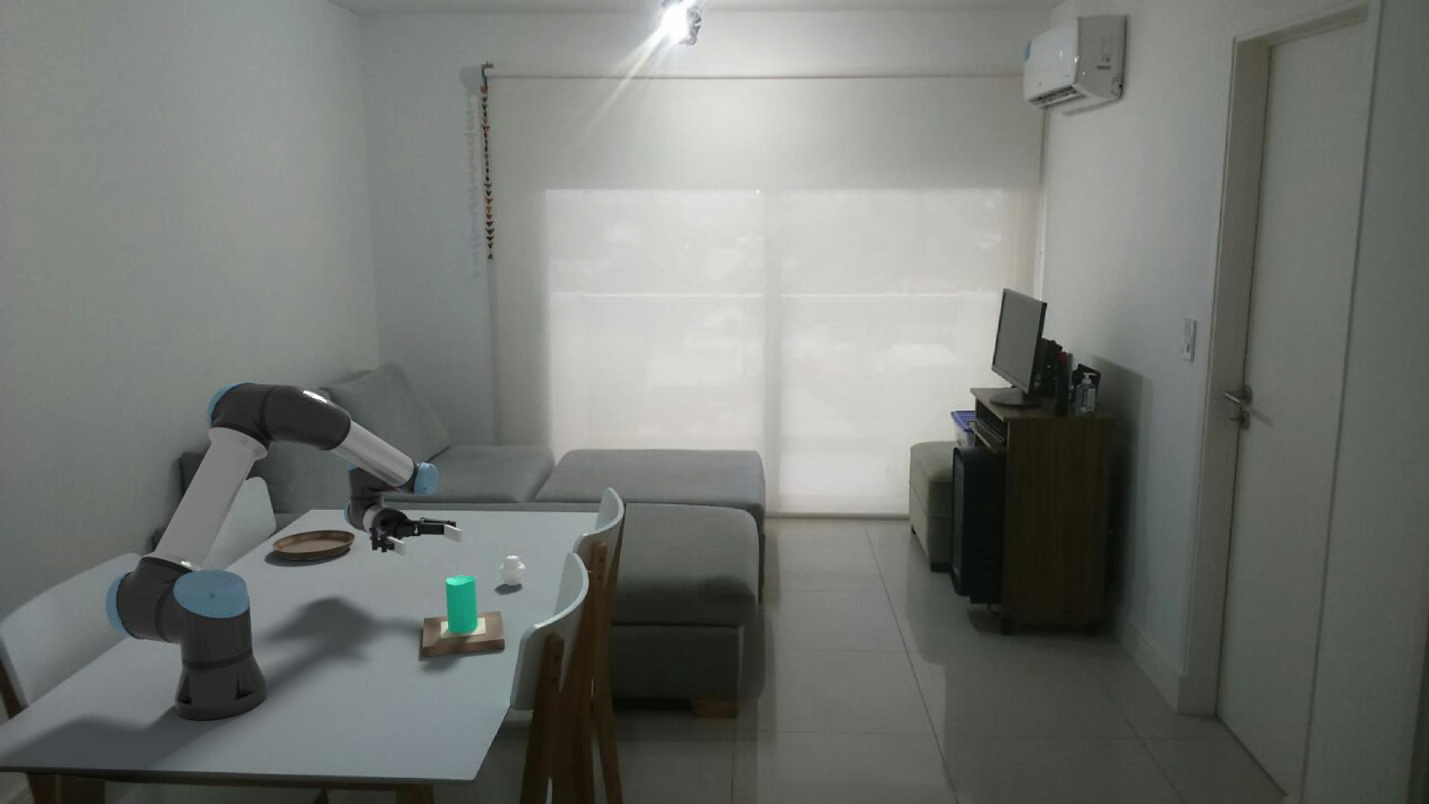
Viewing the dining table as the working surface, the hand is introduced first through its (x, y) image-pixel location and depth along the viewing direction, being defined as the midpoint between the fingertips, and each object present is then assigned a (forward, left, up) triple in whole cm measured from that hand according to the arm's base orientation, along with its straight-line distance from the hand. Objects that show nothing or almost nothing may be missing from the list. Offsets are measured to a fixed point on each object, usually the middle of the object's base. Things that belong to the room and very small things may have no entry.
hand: (432, 542), depth 229 cm
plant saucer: (-32, +58, -17) cm, 68 cm away
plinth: (+5, -13, -17) cm, 22 cm away
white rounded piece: (+17, +18, -17) cm, 30 cm away
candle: (+5, -13, -15) cm, 21 cm away
